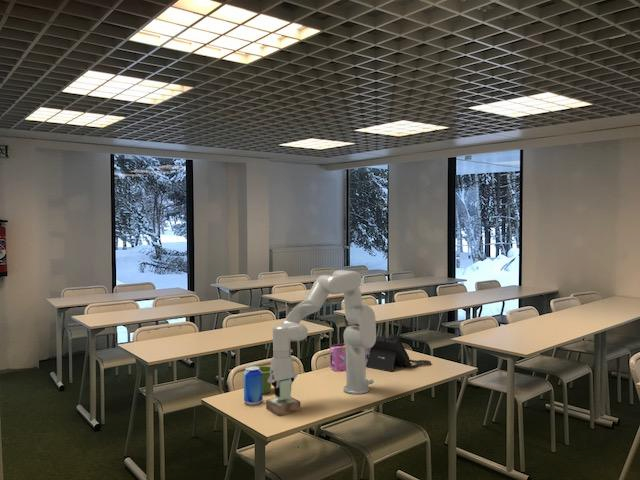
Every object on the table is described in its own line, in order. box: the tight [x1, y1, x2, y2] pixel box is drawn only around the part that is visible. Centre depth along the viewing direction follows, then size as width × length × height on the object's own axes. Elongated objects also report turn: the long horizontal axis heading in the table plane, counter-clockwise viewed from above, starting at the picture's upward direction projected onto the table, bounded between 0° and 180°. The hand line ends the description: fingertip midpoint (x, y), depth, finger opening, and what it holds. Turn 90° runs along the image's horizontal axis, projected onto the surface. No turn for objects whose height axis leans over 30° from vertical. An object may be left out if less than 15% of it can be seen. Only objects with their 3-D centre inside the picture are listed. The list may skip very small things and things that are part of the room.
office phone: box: [366, 333, 432, 373], centre depth 294 cm, size 29×28×20 cm
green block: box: [274, 379, 292, 400], centre depth 226 cm, size 5×5×8 cm
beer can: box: [243, 365, 264, 406], centre depth 237 cm, size 8×8×16 cm
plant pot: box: [258, 365, 272, 395], centre depth 252 cm, size 12×12×11 cm
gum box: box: [329, 343, 370, 372], centre depth 292 cm, size 24×8×14 cm, turn 118°
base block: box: [265, 396, 301, 417], centre depth 226 cm, size 11×11×4 cm
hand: (283, 394), depth 226 cm, fingers closed on green block, 4 cm apart
